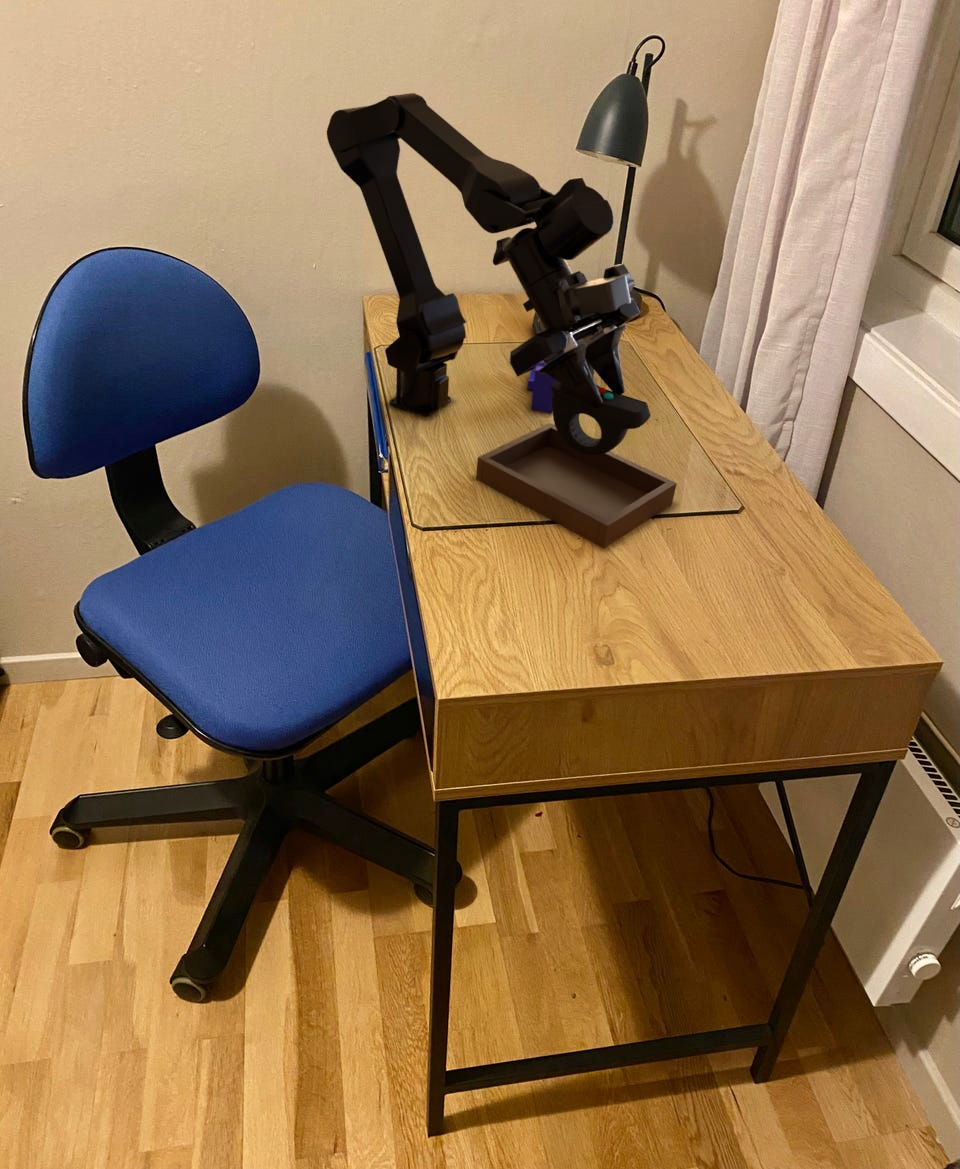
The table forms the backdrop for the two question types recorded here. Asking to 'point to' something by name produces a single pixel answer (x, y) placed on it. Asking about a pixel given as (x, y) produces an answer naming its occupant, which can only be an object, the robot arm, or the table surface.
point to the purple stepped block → (541, 389)
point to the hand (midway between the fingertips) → (610, 400)
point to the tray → (576, 485)
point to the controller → (596, 418)
